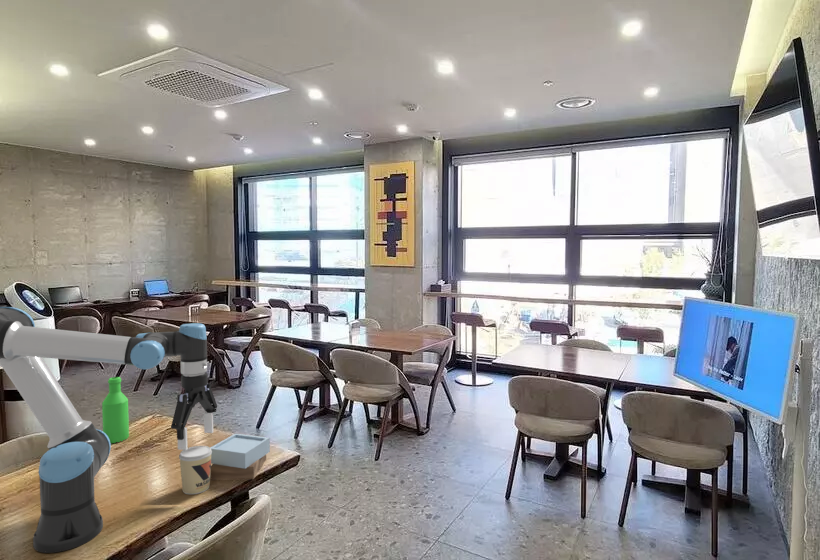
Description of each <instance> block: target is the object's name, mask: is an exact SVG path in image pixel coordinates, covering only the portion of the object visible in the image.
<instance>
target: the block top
mask: <svg viewBox="0 0 820 560" xmlns="http://www.w3.org/2000/svg"><path fill="white" fill-rule="evenodd" d="M270 439H271V438H270V437H266V436H259V435H258V436H257V435H250V434H243V433H234V434H231V436H228V437H227V438H225V439H223V440H221V441H220V442H217V443H216V444H214V445H212V446H210V448H211V450H212V454H211V465H212V464H218V465H224V466H231V467H238V468H244V469H246V468H247V467H249V466H250V465H251V464H253V463H254V462H256V461H257V460H259V459H260V458H262V457H263V456H264V455H266V456H267V454H269V453H270V452H271V451H270V449H271V448H270V447H271V445H270V442H271V440H270Z"/></svg>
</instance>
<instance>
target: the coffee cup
mask: <svg viewBox="0 0 820 560" xmlns="http://www.w3.org/2000/svg"><path fill="white" fill-rule="evenodd" d="M210 447H211V446H210ZM210 447H209V446H208V445H195V446H193V445H192V446H190V447H188V449H187V450H181V451H180V453H179V455H178V458H179V466H180V475H181V476H180V477H181V488H182V492H183V493H184V495H185V494H186V495H197V494H202V493H205V492H206V491H207V490H209V488H210V485H211V466H212V464H211V454H212V450H211V448H210Z"/></svg>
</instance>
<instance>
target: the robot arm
mask: <svg viewBox="0 0 820 560" xmlns="http://www.w3.org/2000/svg"><path fill="white" fill-rule="evenodd" d="M178 356H180V374H181V376H180V380H181V381H180V382H181V387H182V388H183V389H184V393H183V394H182V393H181V394H179V393H178V394H177V400H176V406H175V409H174V414H173V418H172V422H171V426H170V428H171V429H174V430H176V439H177V440H176V441H177V450H181V451H183V450H187V449H188V448H189V447H188V445H189V444H188V427H186V426H187V423H188V421H189V418H190V415H191V412H192V409H193V408H195V405H197V404H198V403H199V404H200V405H201V407H202V408H203V409H204V411H205V412H203V427H204V433H205V434H206V433H207V434H213V433H214V413H216V412H217V408H218V403H217V401H216V399H215V395H214V393H213V390H212V384H211V383H208V381H209V380H208V379H209V376H208V340H207V327H206V326H205V324H203V323H197V322H196V323H195V322H194V323H193V322H192V323H183V324H181V325H179V329H178V330H175V331H162V332H158V331H157V332H144V333H143V332H141V333H138V334H137V335H136V336H135V337H133V336H132V337H131V336H124V335H115V334H108V333H107V334H104V333H96V332H95V333H94V332H86V331H76V330H66V329H56V328H46V327H38V326H37V327H36V324H35V320H34V319H33V317H32V316H31V315H30V314H29V313H28V312H26V311H25V310H23V309H20V308H18V307H11V306H0V367H1V368H2V369H3V370H4V372H5V374H6V375H7V376H8V378H9V380H10V381H11V382H12V384H13V385H14V387H15V389H16V390H17V392H19V394H20V396H21V397H22V399H23V400H24V402H25V404H26V405H27V406H28V408H29V409H30V411H31V412H32V414H33V415H34V416H35V419H36V420H37V421H38V422H39V424H40V426H41V427H42V429H43V430H44V432H45V433H46V435H47V437H48V438H49V441H48V442H47V443H48V444H47V446H46V447H47V449H48V450H47V451H46V452H45V453H43V455H41V457H40V460H39V466H38V476H39V495H40V496H39V497H40V516H39V519H38V523H37V527H36V529H35V530H36V531H35V532H34V534H33V538H32V542H33V543H32V545H33V549H34V550H35V551H37V552H39V553H44V554H45V553H46V554H48V553H49V554H52V553H60V552H64V551H69V550H72V549H75V548H78V547H80V546H82V545H84V544H87V543H88V542H90V541H92V540H94V538H96V537H97V536H98V535H99V534H100V533H101V531H102V530H103V528H104V522H103V521H104V519H103V516H102V515H101V513H100V510H99V507H98V506H97V503H96V500H95V477H96V475H97V474H98V472H99V471H100V470H101V468H102V467H103V466H104V465H105V464H106V462H107V460H108V458H109V456H110V453H111V449H112V447H111V445H112V443H110V440H109V437H108V436H107V435H106V434H105V433H104V432H103V430H101V429H97V428H96V427H95V426H94V424H93V422H92V421H91V420H85V419H83V418H82V417H81V416H80V414H79V412H78V411H77V409H76V408H75V406H74V404H73V403H72V401H71V400H70V398H69V397H68V395H67V394H66V392H65V391H64V389H63V387H62V386H61V385H60V383H59V381H58V380H57V379H56V377H55V375H54V374H53V372H52V370H51V369H50V367H49V366H48V364H47V363H46V361H45V360H44V359H57V360H69V361H83V362H92V363H93V362H94V363H95V362H96V363H105V364H106V363H107V364H117V365H130V366H135V367H136V368H137V369H140V370H150V369H153V368H154V367H156V366H158V365H159V364H161V362H162V361H163V360H164V358H166V357H167V358H168V357H178Z"/></svg>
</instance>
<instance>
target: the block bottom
mask: <svg viewBox="0 0 820 560" xmlns="http://www.w3.org/2000/svg"><path fill="white" fill-rule="evenodd" d="M266 461H267V454H266V455H264V456H263V457H262V458H260V459H259V460H257V461H256V462H254V463H253V464H251V465H250V466H249V467H247V468H246V469H244V468H238V467H231V466H224V465H218V464H211V472H210V481H231V480H232V481H235V480H237V481H238V480H254V479H255V478H256V476H257V474H258V473H259V472H260V470H261V468H262V467H263V465H264V464H265V463H266Z"/></svg>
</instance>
